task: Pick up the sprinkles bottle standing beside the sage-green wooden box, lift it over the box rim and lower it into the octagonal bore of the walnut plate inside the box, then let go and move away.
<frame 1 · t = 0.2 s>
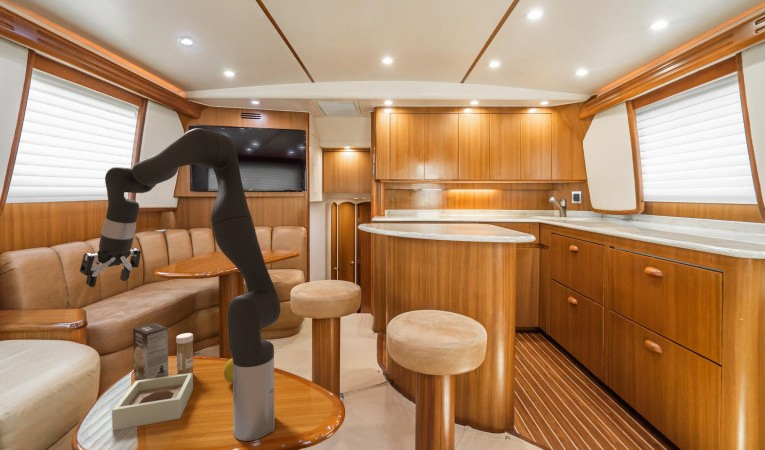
hand: (107, 283, 96), 31 cm above the table, tool tilted 20°, fingers open, 8 cm apart
lemon: (233, 383, 97), on the table
sprinkles bottle: (185, 377, 100), on the table
peg box: (157, 407, 84), on the table
coffee box: (151, 378, 100), on the table
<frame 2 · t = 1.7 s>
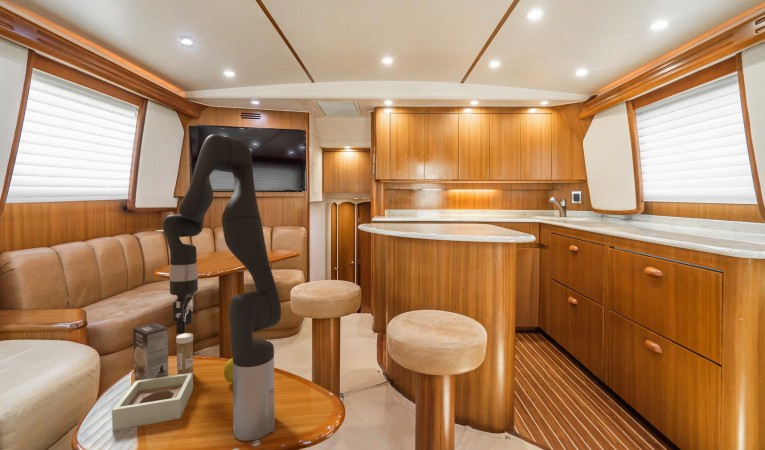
hand: (184, 328, 100), 16 cm above the table, tool pointing down, fingers open, 8 cm apart
nothing on the table moved.
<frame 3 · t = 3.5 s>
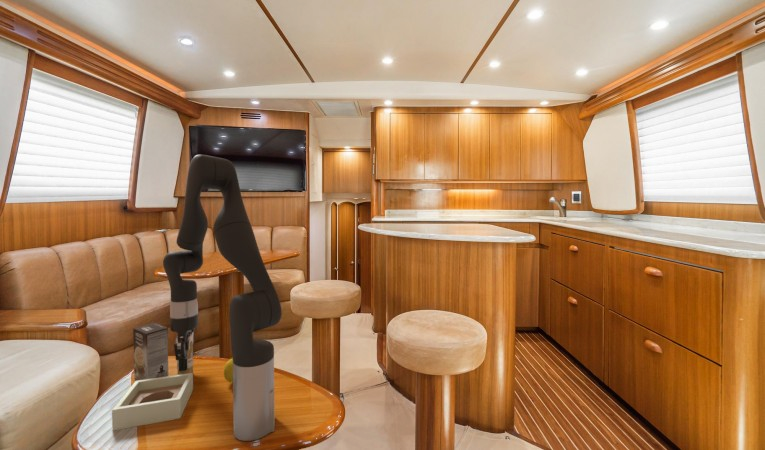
hand: (185, 366, 100), 3 cm above the table, tool pointing down, fingers closed on sprinkles bottle, 4 cm apart
sprinkles bottle: (185, 377, 100), on the table, touching gripper
everything else where it was.
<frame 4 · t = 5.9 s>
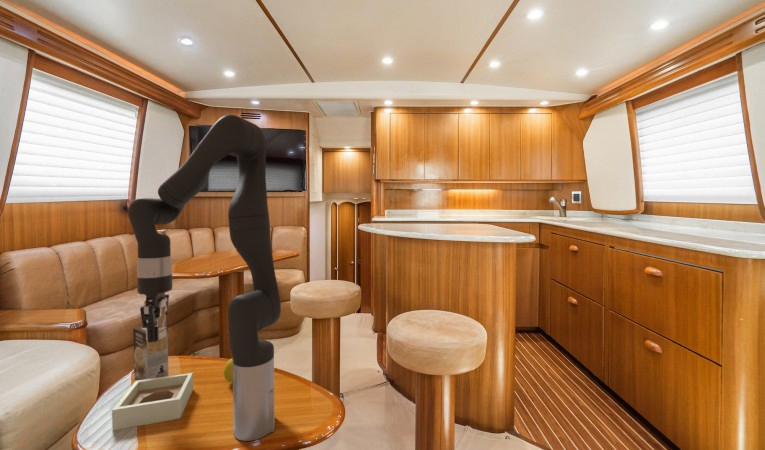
hand: (156, 337, 84), 19 cm above the table, tool pointing down, fingers closed on sprinkles bottle, 4 cm apart
sprinkles bottle: (156, 350, 84), point 15 cm above the table, touching gripper
everything else where it was.
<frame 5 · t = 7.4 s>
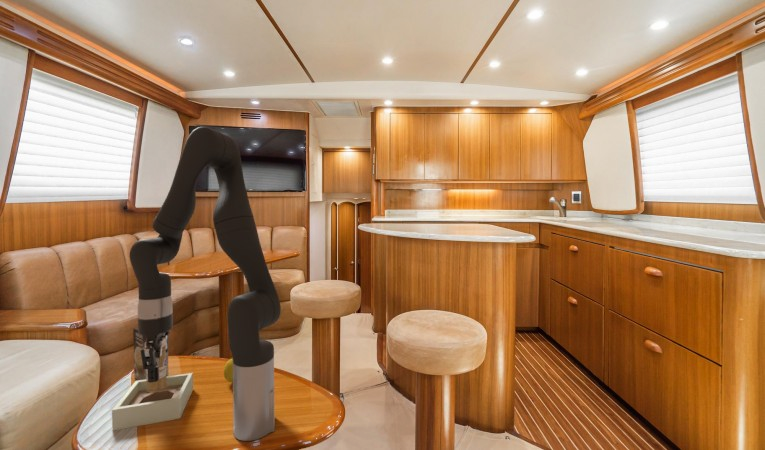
hand: (156, 376, 84), 8 cm above the table, tool pointing down, fingers closed on sprinkles bottle, 4 cm apart
sprinkles bottle: (156, 389, 84), point 5 cm above the table, touching gripper
everything else where it was.
when the fingers open (4 cm above the table, at t = 8.6 s): sprinkles bottle stays where it is, resting in peg box.
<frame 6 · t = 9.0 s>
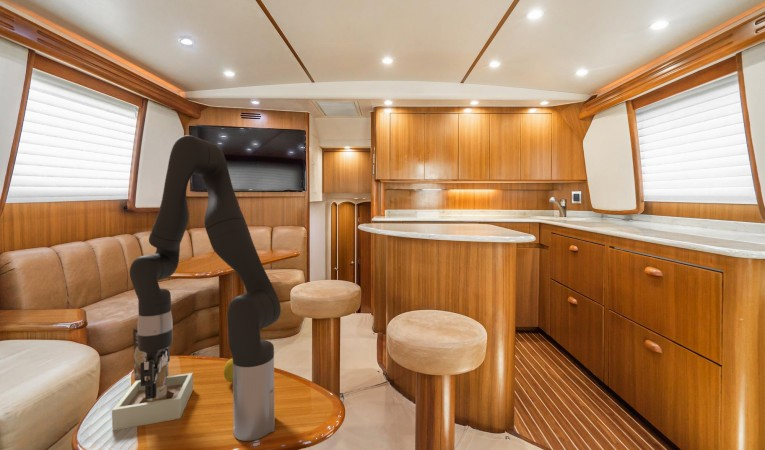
hand: (156, 389, 84), 5 cm above the table, tool pointing down, fingers open, 8 cm apart
sprinkles bottle: (157, 408, 84), resting in peg box
everything else where it was.
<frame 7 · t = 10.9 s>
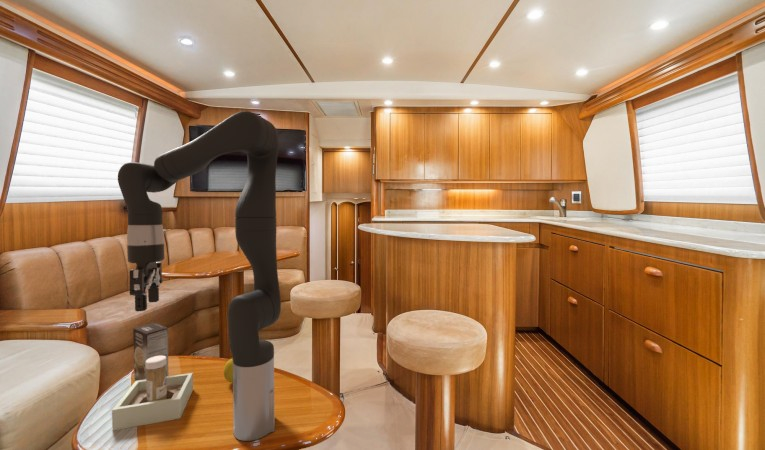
hand: (147, 306, 81), 28 cm above the table, tool pointing down, fingers open, 8 cm apart
nothing on the table moved.
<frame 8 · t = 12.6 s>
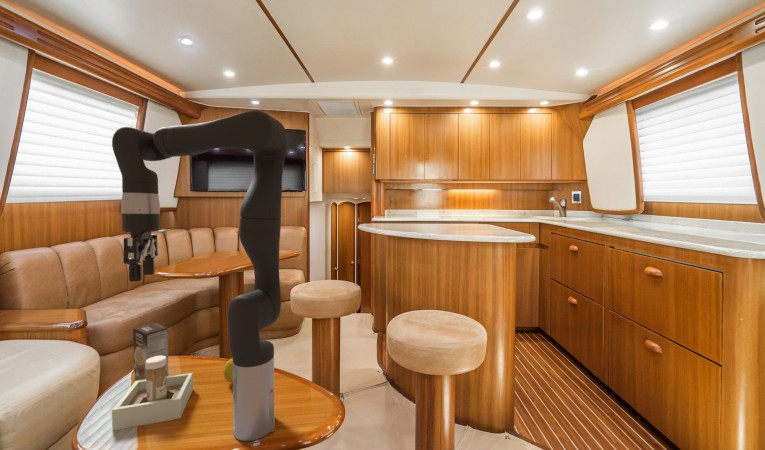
hand: (142, 277, 78), 36 cm above the table, tool pointing down, fingers open, 8 cm apart
nothing on the table moved.
at the end: sprinkles bottle 0.1 cm from the peg box (horizontally); sprinkles bottle tilted 0°; the gripper is holding nothing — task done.
